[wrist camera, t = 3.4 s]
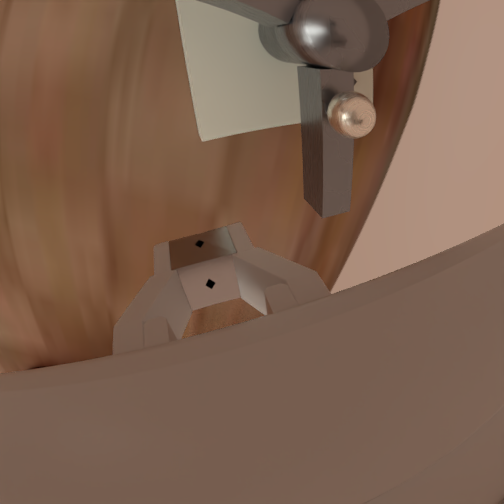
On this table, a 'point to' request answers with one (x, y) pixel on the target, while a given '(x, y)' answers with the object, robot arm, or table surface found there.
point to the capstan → (326, 78)
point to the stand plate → (239, 74)
